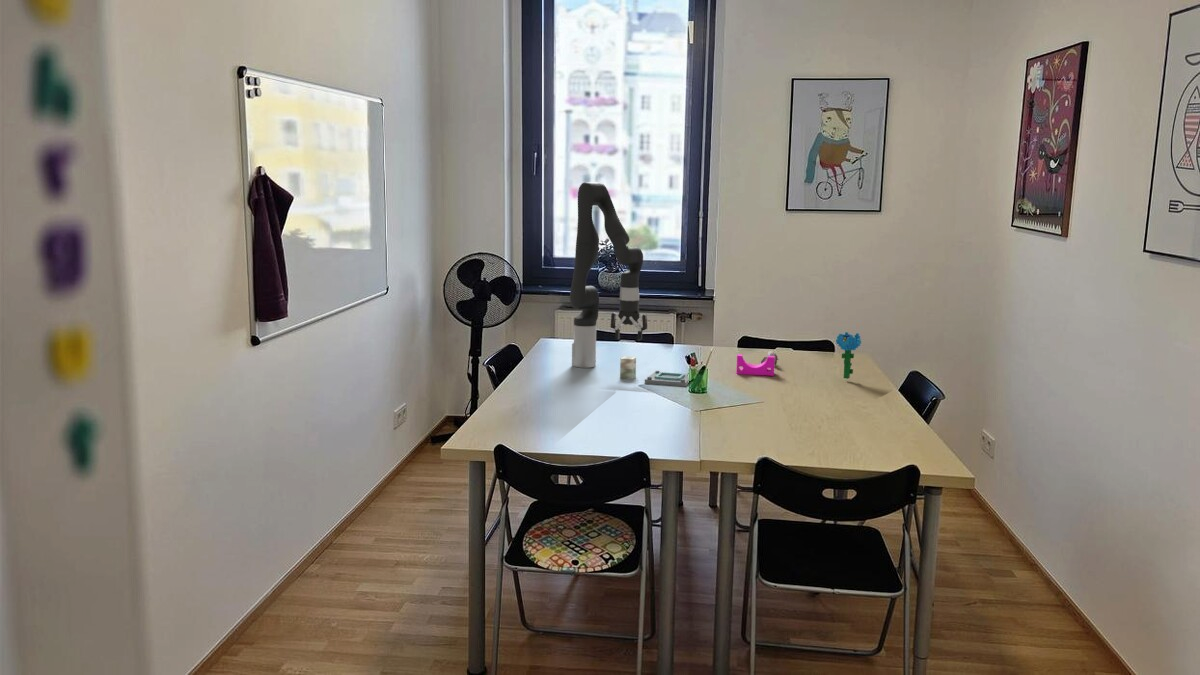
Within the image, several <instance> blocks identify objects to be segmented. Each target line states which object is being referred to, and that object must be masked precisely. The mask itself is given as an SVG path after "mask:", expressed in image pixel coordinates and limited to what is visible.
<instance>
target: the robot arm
mask: <svg viewBox="0 0 1200 675" xmlns="http://www.w3.org/2000/svg"><path fill="white" fill-rule="evenodd" d="M595 206H597V207H598V208H599V209H600V211H601V212H602V214H603V218H604V219H603V220H604V230H605V233H606V235H607V237H608V239H609V240H610V243H611V244H612V246H613V250H614V254H615V259H616V261H617V262H618V264H620V265H621V266H624V267H627V270H625V271H623V272H622V273H621V274H620V289H619V312H618V313H617V312H612V313H611V317H610V328H611V329H614V337H615V339H616V340H620V339H621V335H620V334H621V327H622V326H623V325H625V326H626V325H629V326H634V327H635V328H636V329H637V342H640V341H641V340H642V339H643V331H646V330H647V329H648V315H647V313H644V314H640V291H639V286H640V285H639V284H640V282H639V281H640V280H639V278H640V275H641V270H642V268H643V267H642V266H643V262H644V253H643V250H641V248H639V247H637V246H634V247H633V246H630V247H628V246H627V245H628V244H629V243H630V236H629V235H628V233H627V231H626V229H625V228H624V226H623V224H622V222H621V221H620V218H619V217H618V214H617V211H616V208H615V206H614V203H613V201H612V198H611V195H610V192H609V191H608V188H607V186H605V184H604V183H602V182H597V181H596V182H593V181H592V182H591V181H590V182H589V181H588V182H586V181H585V182H582V183H581V184H580V185H579V187H578V190H577V227H576V228H577V231H576V232H577V233H576V240H575V241H576V242H575V254H574V256H575V258H574V265H573V266H574V267H573V274H572V281H571V286H570V292H569V301H570V305H571V306H572V308H573V309H574V310H582V311H581V312H580V314H578V315H577V316H575V317H574V319H573V343H572V344H571V366H572V367H575V368H580V369H581V368H582V369H584V368H585V369H588V368H595V367H596V366H597V348H596V347H597V320H598V318H599V310H600V309H599V307H600V306H599V305H600V294H599V290H598V289H597V287H595V286H593V285H587V280H588V276H589V274H590V271H591V270H592V267H593V266H594V264H595V262H596V261H597V259H598V256H599V249H600V248H599V247H600V237H599V233H598V232H597V229H596V226H595V224H594V222H593V207H595ZM618 318H619V320H620V321H619V322H616V321H617V320H616V319H618ZM639 319H641V322H642V325H641V323H640V321H639ZM616 323H617V325H616Z"/></svg>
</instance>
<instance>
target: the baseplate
mask: <svg viewBox="0 0 1200 675" xmlns="http://www.w3.org/2000/svg"><path fill="white" fill-rule="evenodd" d="M689 373H690V372H687V373H680V372H667V371H665V372H664V371H663V372H662V371H661V372H660V370H655V371H654V372H653V373H651V374H650V375H648V376H647V377H646V378H645V379H644V384H646V385H647V384H649V385H661V386H673V387H675V386H676V387H687V386H688V385H689V384H688V381H689V380H688V374H689Z"/></svg>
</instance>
